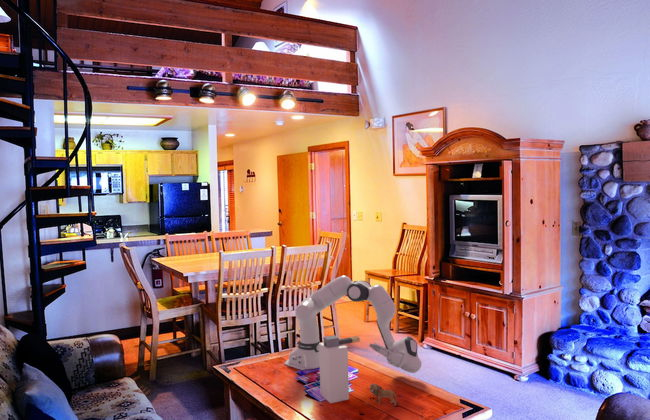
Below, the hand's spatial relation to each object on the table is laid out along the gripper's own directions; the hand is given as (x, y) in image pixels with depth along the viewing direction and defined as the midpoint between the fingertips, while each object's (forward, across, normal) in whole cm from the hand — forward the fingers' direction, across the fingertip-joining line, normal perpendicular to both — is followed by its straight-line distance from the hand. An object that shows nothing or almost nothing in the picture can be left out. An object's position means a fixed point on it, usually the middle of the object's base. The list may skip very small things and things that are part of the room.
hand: (374, 347), depth 255 cm
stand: (+10, 0, +30) cm, 31 cm away
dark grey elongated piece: (+18, 0, +5) cm, 19 cm away
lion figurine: (-6, +18, +21) cm, 28 cm away
